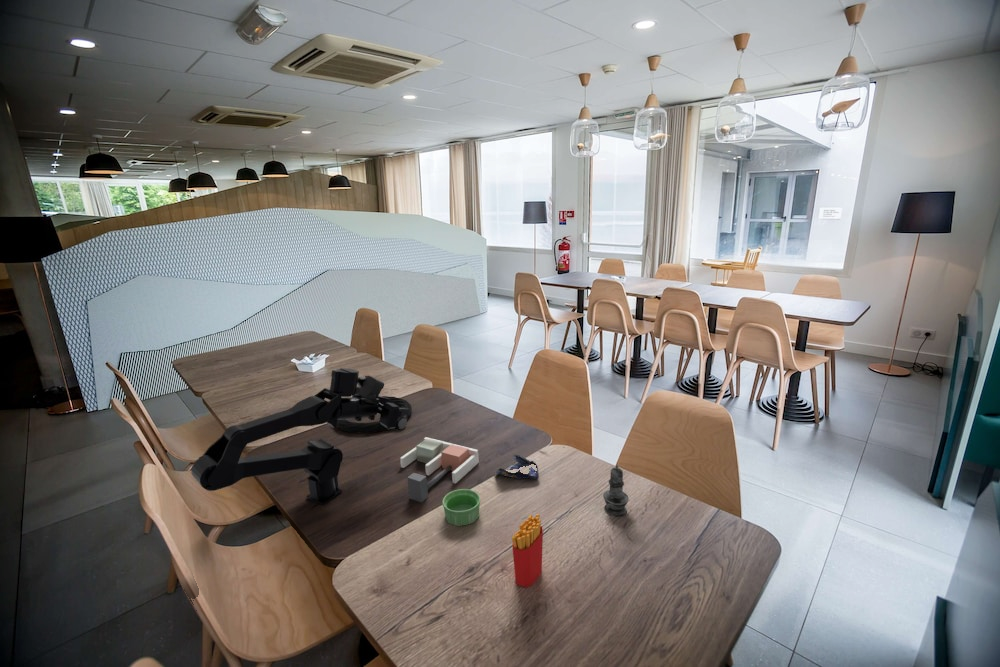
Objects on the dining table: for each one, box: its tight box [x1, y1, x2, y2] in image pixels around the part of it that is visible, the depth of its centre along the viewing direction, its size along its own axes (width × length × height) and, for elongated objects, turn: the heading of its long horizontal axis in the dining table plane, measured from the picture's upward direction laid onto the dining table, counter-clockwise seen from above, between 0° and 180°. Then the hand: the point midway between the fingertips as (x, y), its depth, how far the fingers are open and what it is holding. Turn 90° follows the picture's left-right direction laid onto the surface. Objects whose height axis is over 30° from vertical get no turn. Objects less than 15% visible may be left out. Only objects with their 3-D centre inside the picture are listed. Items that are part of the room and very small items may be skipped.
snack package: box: [494, 453, 540, 480], centre depth 123 cm, size 12×6×12 cm
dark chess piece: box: [603, 464, 629, 518], centre depth 106 cm, size 6×6×12 cm
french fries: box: [511, 513, 544, 588], centre depth 87 cm, size 8×4×12 cm, turn 145°
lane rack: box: [399, 436, 480, 484], centre depth 129 cm, size 12×19×4 cm, turn 61°
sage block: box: [415, 439, 443, 464], centre depth 133 cm, size 5×6×5 cm
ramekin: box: [442, 488, 481, 527], centre depth 107 cm, size 9×9×4 cm
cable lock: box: [336, 395, 413, 434], centre depth 162 cm, size 28×4×30 cm
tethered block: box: [407, 444, 469, 504], centre depth 121 cm, size 21×6×6 cm, turn 151°
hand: (399, 405), depth 131 cm, fingers open, 9 cm apart
